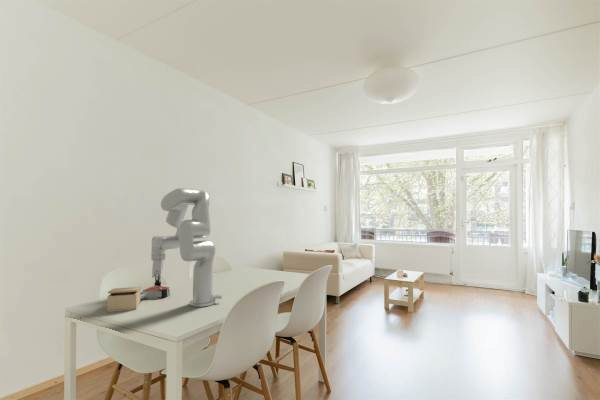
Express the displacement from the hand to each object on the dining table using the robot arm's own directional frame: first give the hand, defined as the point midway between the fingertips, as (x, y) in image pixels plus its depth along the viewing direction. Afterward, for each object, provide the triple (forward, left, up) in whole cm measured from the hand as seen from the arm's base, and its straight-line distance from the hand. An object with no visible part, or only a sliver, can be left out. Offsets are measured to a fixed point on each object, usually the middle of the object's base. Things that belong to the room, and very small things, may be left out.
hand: (157, 288), depth 186 cm
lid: (+12, +29, +6) cm, 32 cm away
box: (+12, +29, -1) cm, 31 cm away
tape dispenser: (+2, +14, -2) cm, 14 cm away
